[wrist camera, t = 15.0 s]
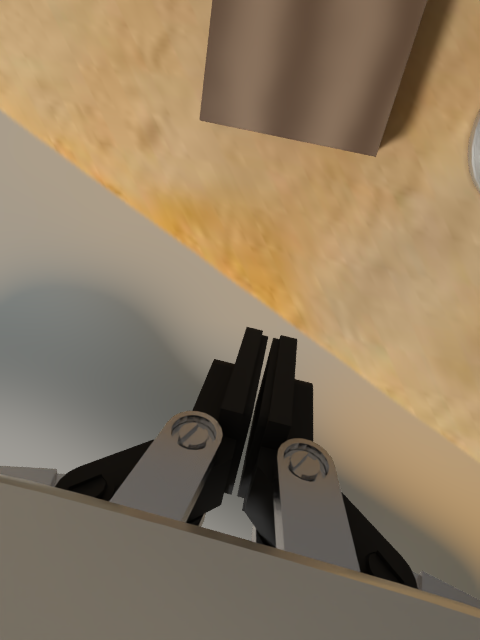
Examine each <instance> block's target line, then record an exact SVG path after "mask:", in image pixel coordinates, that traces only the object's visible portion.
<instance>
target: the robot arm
mask: <svg viewBox="0 0 480 640" xmlns="http://www.w3.org/2000/svg"><path fill="white" fill-rule="evenodd" d="M468 164H469V171H470V174H471V177H472V181H473V184H474V185H475V187H476V188H477V190H478V192H479V193H480V110H479V112H478V114H477V116H476V118H475V120H474V124H473V127H472V131H471V134H470V137H469V146H468ZM262 332H263V331H262V330H257V329H254V328H249V327H247V328H246V331H245V334H244V337H243V341H242V344H241V347H240V350H239V353H238V356H237V359H236V363H235V364H232V363H228V362H224V361H220V360H216V359H214V361H213V363H212V365H211V368H210V370H209V372H208V375H207V377H206V380H205V382H204V385H203V387H202V389H201V391H200V394H199V396H198V399H197V401H196V404H195V406H194V408H193V411H186V412H181V413H179V414H177V415H175V416H173V417H172V418H171V419H170V420H169V421H168V422H167V423H166V425H165V426H164V427H163V429H162V430H161V432H160V433H159V434H158V436H157V437H156V438H155V439H154V440H151V441H148V442H146V443H143V444H140V445H137V446H135V447H132V448H129V449H127V450H124V451H121V452H118V453H115V454H113V455H110V456H107V457H105V458H102V459H99V460H96V461H94V462H91V463H88V464H85V465H83V466H80V467H78V468H76V469H74V470H72V471H70V472H68V473H67V474H57V469H47V468H29V467H10V466H0V640H480V600H479V599H477V598H475V597H473V596H471V595H469V594H467V593H465V592H463V591H461V590H459V589H457V588H455V587H453V586H451V585H449V584H447V583H445V582H443V581H441V580H439V579H437V578H435V577H433V576H431V575H429V574H427V573H425V572H424V571H421V573H420V574H419V575H418V574H416V573H414V572H413V571H412V570H411V568H410V567H409V565H408V564H407V563H406V561H405V560H404V559H403V557H402V556H401V555H400V554H399V553H398V552H397V551H396V550H395V549H394V548H393V547H392V545H391V544H390V543H389V542H388V541H387V540H386V539H385V538H384V537H383V536H382V535H381V534H380V533H379V532H378V531H377V529H376V528H375V527H374V526H373V525H372V524H371V523H370V522H369V521H368V520H367V519H366V518H365V517H364V516H363V514H362V513H361V512H360V511H359V510H358V509H357V508H356V507H355V506H354V505H353V504H352V503H351V502H350V501H349V500H348V498H347V497H346V496H345V495H344V494H343V493H342V492H341V489H340V485H339V481H338V477H337V472H336V469H335V465H334V462H333V460H332V458H331V456H330V455H329V454H328V453H327V451H326V450H325V449H323V448H322V447H321V446H320V445H318V444H316V443H314V442H313V385H312V383H308V382H304V381H300V380H296V379H295V365H296V350H297V339H294V338H290V337H286V336H282V335H281V336H280V339H276V338H273V341H272V345H271V348H270V352H269V356H268V360H267V364H266V368H265V371H264V375H263V379H262V383H261V387H260V390H259V394H258V399H257V402H256V406H255V411H254V416H253V421H252V426H251V431H250V436H249V441H248V446H247V451H246V456H245V460H244V465H243V470H242V475H241V481H240V485H239V490H238V497H242V498H244V503H243V509H242V510H243V511H245V513H246V514H247V516H248V517H249V519H250V520H251V522H252V523H253V530H252V541H249V540H245V539H242V538H238V537H235V536H231V535H228V534H224V533H220V532H217V531H213V530H210V529H206V528H203V527H201V526H202V524H203V522H204V518H205V515H206V512H208V511H210V510H212V509H214V508H216V507H218V506H220V505H221V503H222V499H223V494H224V493H227V494H232V490H233V486H234V483H235V479H236V475H237V471H238V467H239V464H240V460H241V456H242V452H243V448H244V444H245V441H246V437H247V433H248V428H249V425H250V421H251V417H252V413H253V408H254V402H255V398H256V393H257V389H258V384H259V379H260V374H261V369H262V365H263V360H264V355H265V350H266V345H267V340H268V336H264V335H262Z"/></svg>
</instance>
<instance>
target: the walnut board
mask: <svg viewBox="0 0 480 640" xmlns="http://www.w3.org/2000/svg"><path fill="white" fill-rule="evenodd" d="M426 3H427V0H213V1H212V10H211V19H210V28H209V37H208V47H207V56H206V65H205V74H204V84H203V93H202V102H201V111H200V120H201V121H205V122H210V123H215V124H220V125H225V126H230V127H234V128H239V129H244V130H249V131H254V132H259V133H263V134H268V135H273V136H278V137H283V138H288V139H292V140H297V141H302V142H307V143H312V144H317V145H321V146H326V147H331V148H336V149H341V150H346V151H350V152H355V153H360V154H365V155H370V156H375V157H376V155H377V152H378V149H379V146H380V143H381V140H382V137H383V134H384V131H385V128H386V125H387V122H388V119H389V116H390V113H391V109H392V106H393V103H394V100H395V97H396V94H397V91H398V88H399V85H400V82H401V79H402V76H403V73H404V70H405V67H406V64H407V61H408V58H409V55H410V52H411V49H412V46H413V43H414V40H415V37H416V34H417V31H418V28H419V25H420V22H421V19H422V15H423V12H424V9H425V6H426Z"/></svg>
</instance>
